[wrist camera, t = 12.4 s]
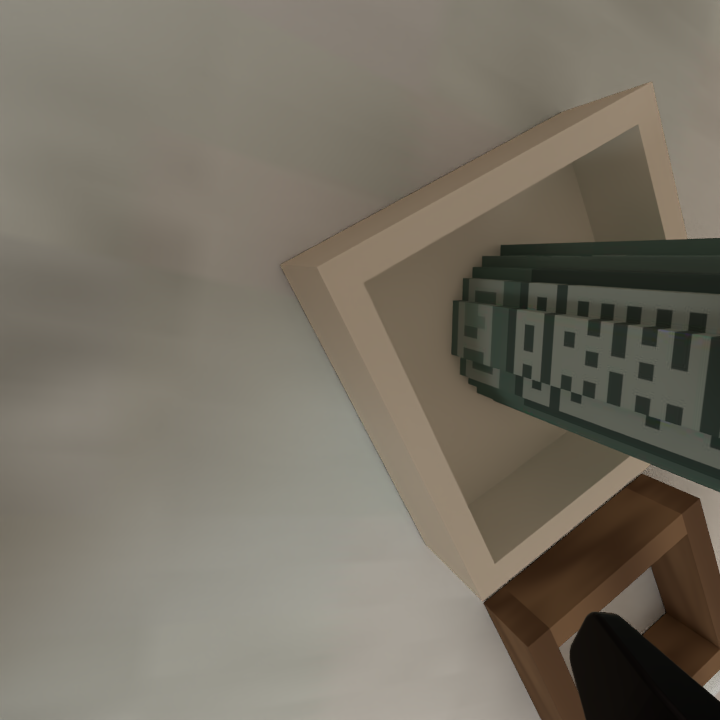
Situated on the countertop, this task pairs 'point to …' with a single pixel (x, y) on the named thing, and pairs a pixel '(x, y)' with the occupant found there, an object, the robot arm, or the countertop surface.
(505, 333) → the can
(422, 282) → the bin
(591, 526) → the holder
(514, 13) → the countertop surface
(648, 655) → the robot arm
